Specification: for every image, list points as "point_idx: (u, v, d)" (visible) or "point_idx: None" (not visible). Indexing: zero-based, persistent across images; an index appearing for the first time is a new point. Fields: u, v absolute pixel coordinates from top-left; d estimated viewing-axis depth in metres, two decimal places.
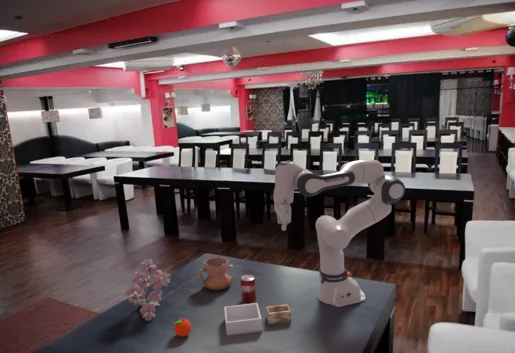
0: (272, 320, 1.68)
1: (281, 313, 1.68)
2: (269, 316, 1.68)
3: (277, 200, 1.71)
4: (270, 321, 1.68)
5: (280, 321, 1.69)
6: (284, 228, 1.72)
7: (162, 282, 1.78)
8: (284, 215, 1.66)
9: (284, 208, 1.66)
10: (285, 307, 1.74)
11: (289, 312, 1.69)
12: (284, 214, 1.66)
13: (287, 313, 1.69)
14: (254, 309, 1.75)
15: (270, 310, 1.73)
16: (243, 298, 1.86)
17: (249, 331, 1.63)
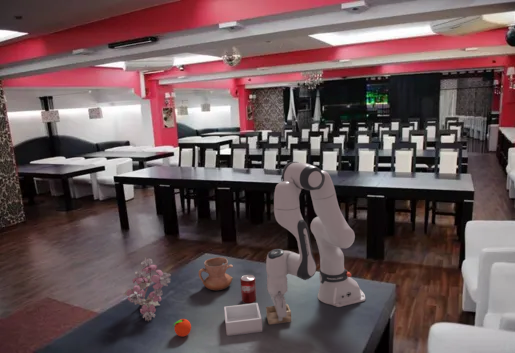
0: (272, 320, 1.68)
1: None
2: (269, 316, 1.68)
3: (271, 292, 1.66)
4: (270, 321, 1.68)
5: (280, 321, 1.69)
6: (280, 318, 1.67)
7: (162, 282, 1.78)
8: (279, 310, 1.60)
9: (278, 303, 1.60)
10: None
11: (289, 312, 1.69)
12: (279, 309, 1.60)
13: (287, 313, 1.69)
14: (254, 309, 1.75)
15: (270, 310, 1.73)
16: (243, 298, 1.86)
17: (249, 331, 1.63)
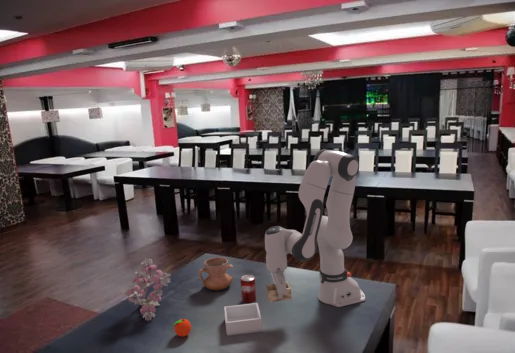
0: (272, 298, 1.67)
1: None
2: (269, 294, 1.66)
3: (270, 269, 1.64)
4: (270, 299, 1.67)
5: (280, 299, 1.67)
6: (281, 296, 1.65)
7: (162, 282, 1.78)
8: (279, 287, 1.58)
9: (278, 279, 1.59)
10: None
11: (289, 289, 1.67)
12: (278, 286, 1.58)
13: (287, 290, 1.67)
14: (254, 309, 1.75)
15: (270, 288, 1.71)
16: (243, 298, 1.86)
17: (249, 331, 1.63)
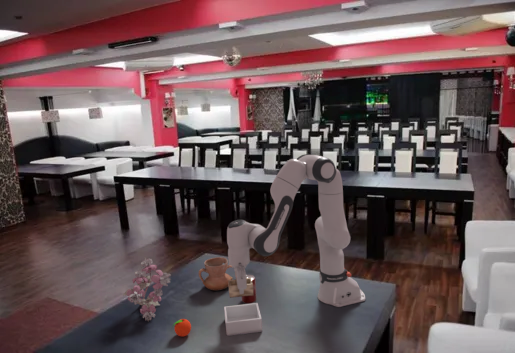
0: (233, 293, 1.62)
1: None
2: (230, 289, 1.62)
3: (231, 264, 1.60)
4: (231, 294, 1.62)
5: (242, 294, 1.63)
6: (242, 291, 1.61)
7: (162, 282, 1.78)
8: (238, 281, 1.54)
9: (238, 274, 1.54)
10: (248, 281, 1.68)
11: (251, 285, 1.63)
12: (238, 280, 1.54)
13: (249, 286, 1.63)
14: (254, 309, 1.75)
15: (232, 284, 1.67)
16: (243, 298, 1.86)
17: (249, 331, 1.63)
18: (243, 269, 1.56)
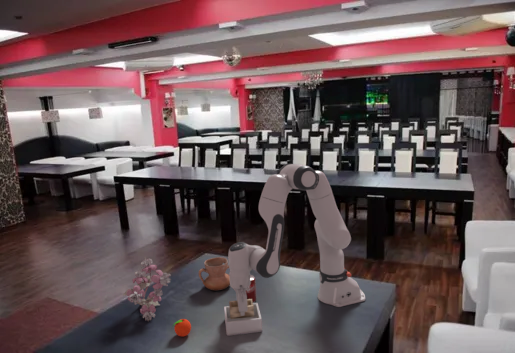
0: (234, 315, 1.64)
1: None
2: (231, 311, 1.64)
3: (232, 286, 1.62)
4: (232, 316, 1.64)
5: (242, 316, 1.65)
6: (243, 313, 1.63)
7: (162, 282, 1.78)
8: (239, 304, 1.56)
9: (239, 297, 1.56)
10: (249, 302, 1.70)
11: (252, 307, 1.65)
12: (239, 303, 1.56)
13: (250, 308, 1.65)
14: (254, 309, 1.75)
15: (233, 305, 1.69)
16: None
17: (249, 331, 1.63)
18: (244, 292, 1.59)
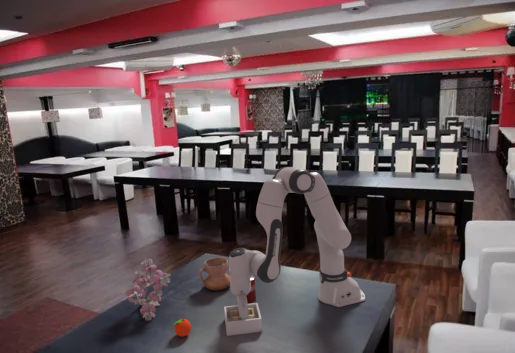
0: None
1: None
2: (232, 320, 1.65)
3: (233, 292, 1.62)
4: None
5: None
6: None
7: (162, 282, 1.78)
8: (240, 310, 1.57)
9: (240, 303, 1.57)
10: (250, 311, 1.71)
11: (253, 316, 1.66)
12: (240, 309, 1.57)
13: (251, 317, 1.66)
14: (254, 309, 1.75)
15: (234, 314, 1.70)
16: None
17: (249, 331, 1.63)
18: (245, 297, 1.59)
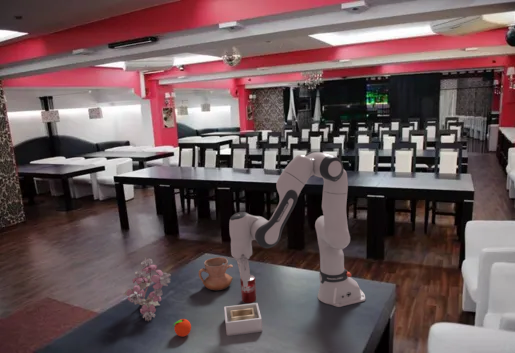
0: None
1: (244, 317, 1.65)
2: (232, 320, 1.65)
3: (234, 256, 1.61)
4: None
5: None
6: (246, 284, 1.62)
7: (162, 282, 1.78)
8: (242, 273, 1.56)
9: (241, 265, 1.56)
10: (250, 311, 1.71)
11: (253, 316, 1.66)
12: (242, 272, 1.56)
13: (251, 317, 1.66)
14: (254, 309, 1.75)
15: (234, 314, 1.70)
16: (243, 298, 1.86)
17: (249, 331, 1.63)
18: (246, 260, 1.58)
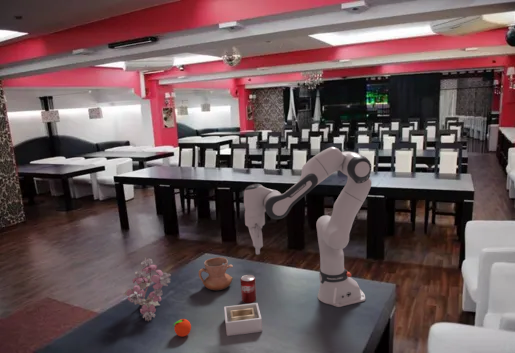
0: None
1: (244, 317, 1.65)
2: (232, 320, 1.65)
3: (248, 225, 1.70)
4: None
5: None
6: (258, 252, 1.70)
7: (162, 282, 1.78)
8: (255, 240, 1.65)
9: (255, 233, 1.65)
10: (250, 311, 1.71)
11: (253, 316, 1.66)
12: (255, 239, 1.65)
13: (251, 317, 1.66)
14: (254, 309, 1.75)
15: (234, 314, 1.70)
16: (243, 298, 1.86)
17: (249, 331, 1.63)
18: (259, 229, 1.67)
